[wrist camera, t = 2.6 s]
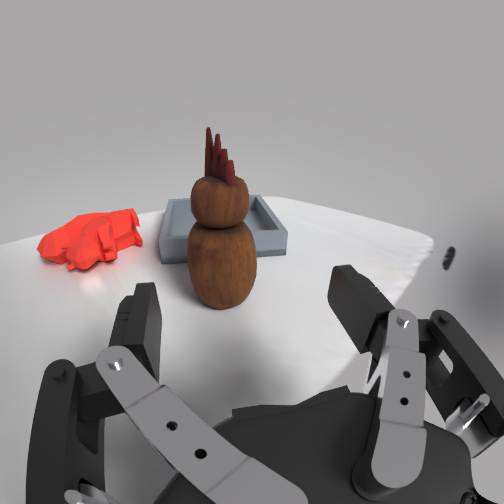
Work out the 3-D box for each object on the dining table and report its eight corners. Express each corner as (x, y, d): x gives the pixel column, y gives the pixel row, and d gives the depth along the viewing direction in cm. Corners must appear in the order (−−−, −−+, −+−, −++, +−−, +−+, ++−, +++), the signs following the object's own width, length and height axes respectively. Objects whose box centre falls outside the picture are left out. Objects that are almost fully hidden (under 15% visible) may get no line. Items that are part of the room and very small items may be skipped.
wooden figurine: (190, 279, 28) (180, 128, 21) (244, 273, 29) (247, 126, 22) (195, 323, 22) (179, 132, 15) (261, 315, 24) (271, 131, 16)
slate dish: (161, 264, 30) (158, 240, 29) (170, 217, 43) (168, 199, 41) (285, 254, 33) (287, 232, 32) (259, 212, 46) (259, 194, 44)
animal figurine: (44, 255, 32) (34, 223, 29) (132, 229, 39) (127, 198, 37) (36, 297, 23) (21, 258, 21) (150, 262, 31) (143, 222, 28)
